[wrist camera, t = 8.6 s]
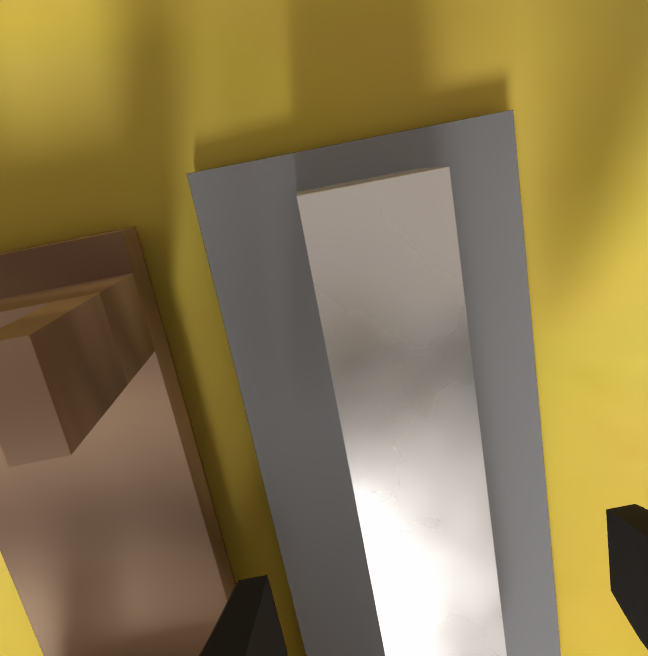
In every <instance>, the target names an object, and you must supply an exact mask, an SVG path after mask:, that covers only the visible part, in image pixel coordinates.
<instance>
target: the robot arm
mask: <svg viewBox="0 0 648 656" xmlns="http://www.w3.org/2000/svg"><path fill="white" fill-rule="evenodd" d="M606 514H607V531H608V549H609V567H610V584H611V591H612V593H613V595H614V597H615V598H616V600H617V602H618V604H619V605H620V607H621V609H622V610H623V612H624V614H625V616H626V617H627V619H628V621H629V622H630V624H631V626H632V627H633V629H634V630H635V632H636V634H637V635H638V637H639V639H640V640H641V641H642V643H643V644H644V645H645V647H646V648H647V649H648V510H647V509H645V508H643V507H641V506H638V505H636V504H632V505H627V506H622V507H617V508H612V509H606ZM199 656H287V649H286V646H285V642H284V638H283V634H282V630H281V626H280V622H279V618H278V615H277V611H276V607H275V603H274V599H273V595H272V591H271V587H270V584H269V580H268V576H267V575H264V576H259V577H254V578H249V579H244V580H239V581H238V582H237V584H236V585H235V587H234V589H233V591H232V593H231V595H230V597H229V599H228V601H227V603H226V605H225V607H224V609H223V611H222V613H221V615H220V617H219V619H218V621H217V623H216V625H215V627H214V629H213V631H212V632H211V634H210V636H209V638H208V640H207V642H206V643H205V645H204V647H203V649H202V651H201V652H200V654H199Z"/></svg>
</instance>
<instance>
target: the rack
mask: <svg viewBox="0 0 648 656" xmlns="http://www.w3.org/2000/svg"><path fill="white" fill-rule="evenodd" d="M0 551H1V553H2V556H3V558H4V561H5V563H6V565H7V568H8V570H9V573H10V575H11V578H12V580H13V582H14V585H15V587H16V590H17V592H18V595H19V597H20V599H21V602H22V604H23V607H24V609H25V611H26V614H27V616H28V619H29V621H30V624H31V626H32V628H33V631H34V633H35V636H36V638H37V640H38V643H39V645H40V648H41V650H42V653H43V655H44V656H199V654H200V652H201V651H202V649H203V647H204V645H205V643H206V642H207V640H208V638H209V636H210V634H211V632H212V631H213V629H214V627H215V625H216V623H217V621H218V619H219V617H220V615H221V613H222V611H223V609H224V607H225V605H226V603H227V601H228V599H229V597H230V595H231V593H232V591H233V589H234V587H235V581H234V578H233V574H232V571H231V567H230V563H229V560H228V556H227V553H226V549H225V546H224V542H223V538H222V535H221V531H220V528H219V524H218V521H217V517H216V513H215V510H214V506H213V503H212V499H211V496H210V492H209V488H208V485H207V481H206V478H205V474H204V471H203V467H202V464H201V460H200V456H199V453H198V449H197V446H196V442H195V439H194V435H193V431H192V428H191V424H190V421H189V417H188V414H187V410H186V406H185V403H184V399H183V396H182V392H181V389H180V385H179V381H178V378H177V374H176V371H175V367H174V364H173V360H172V356H171V353H170V349H169V346H168V342H167V339H166V335H165V331H164V328H163V324H162V321H161V317H160V314H159V310H158V306H157V303H156V299H155V296H154V292H153V289H152V285H151V281H150V278H149V274H148V271H147V267H146V264H145V260H144V256H143V253H142V249H141V246H140V242H139V239H138V235H137V231H136V228H135V227H131V228H126V229H120V230H115V231H110V232H105V233H100V234H95V235H90V236H85V237H80V238H75V239H69V240H64V241H59V242H54V243H49V244H44V245H39V246H34V247H29V248H24V249H18V250H13V251H8V252H3V253H0Z"/></svg>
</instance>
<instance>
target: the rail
mask: <svg viewBox="0 0 648 656" xmlns="http://www.w3.org/2000/svg"><path fill="white" fill-rule="evenodd" d="M297 201H298V206H299V211H300V216H301V222H302V227H303V232H304V237H305V242H306V247H307V253H308V258H309V263H310V268H311V273H312V278H313V283H314V289H315V294H316V299H317V304H318V309H319V314H320V320H321V325H322V330H323V335H324V340H325V345H326V350H327V356H328V361H329V366H330V371H331V376H332V381H333V387H334V392H335V397H336V402H337V407H338V412H339V418H340V423H341V428H342V433H343V438H344V443H345V448H346V454H347V459H348V464H349V469H350V474H351V479H352V485H353V490H354V495H355V500H356V505H357V510H358V515H359V521H360V526H361V531H362V536H363V541H364V546H365V552H366V557H367V562H368V567H369V572H370V577H371V583H372V588H373V593H374V598H375V603H376V608H377V613H378V619H379V624H380V629H381V634H382V639H383V644H384V650H385V655H386V656H507V653H506V645H505V636H504V628H503V619H502V611H501V602H500V594H499V585H498V577H497V568H496V560H495V551H494V543H493V534H492V526H491V517H490V509H489V500H488V492H487V483H486V475H485V466H484V458H483V449H482V441H481V432H480V424H479V415H478V407H477V398H476V390H475V381H474V373H473V364H472V356H471V347H470V339H469V330H468V322H467V313H466V305H465V296H464V288H463V279H462V271H461V262H460V254H459V245H458V237H457V228H456V220H455V211H454V203H453V194H452V186H451V177H450V169H449V167H433V168H415V169H410V170H405V171H400V172H395V173H389V174H384V175H379V176H374V177H369V178H363V179H358V180H353V181H348V182H343V183H338V184H332V185H327V186H322V187H317V188H312V189H306V190H301V191H297Z"/></svg>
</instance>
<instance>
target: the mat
mask: <svg viewBox="0 0 648 656" xmlns="http://www.w3.org/2000/svg"><path fill="white" fill-rule="evenodd" d="M433 167H449V169H450V177H451V186H452V194H453V203H454V211H455V220H456V228H457V237H458V245H459V254H460V262H461V271H462V279H463V288H464V296H465V305H466V313H467V322H468V330H469V339H470V347H471V356H472V364H473V373H474V381H475V390H476V398H477V407H478V415H479V424H480V432H481V441H482V449H483V458H484V466H485V475H486V483H487V492H488V500H489V509H490V517H491V526H492V534H493V543H494V551H495V560H496V568H497V577H498V585H499V594H500V602H501V611H502V619H503V628H504V636H505V645H506V653H507V656H561V653H560V641H559V630H558V619H557V607H556V596H555V584H554V573H553V561H552V550H551V539H550V527H549V516H548V504H547V493H546V481H545V470H544V459H543V447H542V436H541V424H540V413H539V402H538V390H537V379H536V367H535V356H534V344H533V333H532V322H531V310H530V299H529V287H528V276H527V264H526V253H525V242H524V230H523V219H522V207H521V196H520V184H519V173H518V162H517V150H516V139H515V127H514V116H513V110H509V111H504V112H499V113H494V114H489V115H484V116H479V117H473V118H468V119H463V120H458V121H453V122H448V123H443V124H438V125H433V126H428V127H423V128H417V129H412V130H407V131H402V132H397V133H392V134H387V135H382V136H377V137H372V138H367V139H361V140H356V141H351V142H346V143H341V144H336V145H331V146H326V147H321V148H316V149H311V150H306V151H300V152H295V153H290V154H285V155H280V156H275V157H270V158H265V159H260V160H255V161H250V162H244V163H239V164H234V165H229V166H224V167H219V168H214V169H209V170H204V171H199V172H194V173H188V174H187V177H188V181H189V185H190V189H191V193H192V197H193V201H194V205H195V209H196V213H197V217H198V221H199V225H200V229H201V233H202V237H203V241H204V245H205V249H206V253H207V257H208V261H209V266H210V270H211V274H212V278H213V282H214V286H215V290H216V294H217V298H218V302H219V306H220V310H221V314H222V318H223V322H224V326H225V330H226V334H227V338H228V342H229V346H230V350H231V354H232V358H233V362H234V366H235V370H236V374H237V378H238V382H239V387H240V391H241V395H242V399H243V403H244V407H245V411H246V415H247V419H248V423H249V427H250V431H251V435H252V439H253V443H254V447H255V451H256V455H257V459H258V463H259V467H260V471H261V475H262V479H263V483H264V487H265V491H266V495H267V499H268V503H269V507H270V512H271V516H272V520H273V524H274V528H275V532H276V536H277V540H278V544H279V548H280V552H281V556H282V560H283V564H284V568H285V572H286V576H287V580H288V584H289V588H290V592H291V596H292V600H293V604H294V608H295V612H296V616H297V620H298V624H299V628H300V633H301V637H302V641H303V645H304V649H305V653H306V656H386V655H385V650H384V644H383V639H382V634H381V629H380V624H379V619H378V613H377V608H376V603H375V598H374V593H373V588H372V583H371V577H370V572H369V567H368V562H367V557H366V552H365V546H364V541H363V536H362V531H361V526H360V521H359V515H358V510H357V505H356V500H355V495H354V490H353V485H352V479H351V474H350V469H349V464H348V459H347V454H346V448H345V443H344V438H343V433H342V428H341V423H340V418H339V412H338V407H337V402H336V397H335V392H334V387H333V381H332V376H331V371H330V366H329V361H328V356H327V350H326V345H325V340H324V335H323V330H322V325H321V320H320V314H319V309H318V304H317V299H316V294H315V289H314V283H313V278H312V273H311V268H310V263H309V258H308V253H307V247H306V242H305V237H304V232H303V227H302V222H301V216H300V211H299V206H298V201H297V191H301V190H306V189H312V188H317V187H322V186H327V185H332V184H338V183H343V182H348V181H353V180H358V179H363V178H369V177H374V176H379V175H384V174H389V173H395V172H400V171H405V170H410V169H415V168H433Z"/></svg>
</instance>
